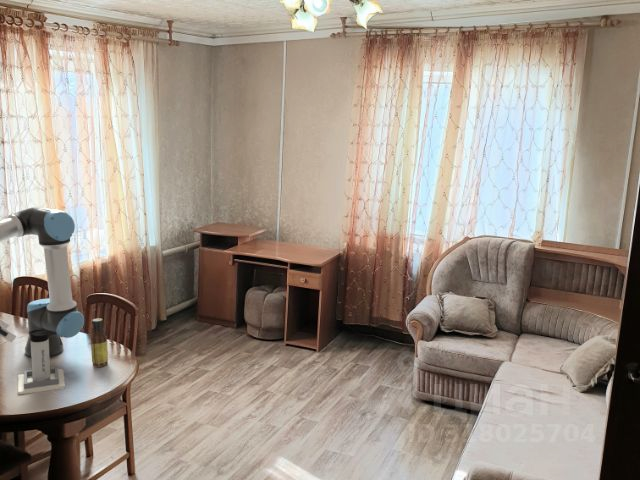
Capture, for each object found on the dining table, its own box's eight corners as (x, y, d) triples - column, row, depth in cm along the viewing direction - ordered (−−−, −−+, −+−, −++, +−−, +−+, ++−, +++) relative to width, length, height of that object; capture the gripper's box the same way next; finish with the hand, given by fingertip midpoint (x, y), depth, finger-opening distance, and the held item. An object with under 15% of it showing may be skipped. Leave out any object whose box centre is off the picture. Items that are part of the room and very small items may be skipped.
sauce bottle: (111, 363, 251) (110, 318, 247) (101, 369, 246) (99, 323, 241) (98, 360, 253) (97, 316, 249) (88, 366, 248) (86, 320, 244)
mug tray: (18, 376, 235) (18, 369, 234) (62, 371, 242) (62, 364, 241) (18, 394, 221) (17, 387, 220) (65, 387, 228) (64, 380, 227)
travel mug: (35, 376, 234) (32, 328, 230) (52, 376, 234) (50, 328, 230) (29, 383, 228) (26, 334, 224) (47, 383, 228) (44, 334, 224)
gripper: (-53, 299, 218) (-4, 330, 230) (-44, 319, 198) (9, 352, 210) (-37, 283, 220) (11, 315, 232) (-27, 301, 200) (24, 336, 212)
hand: (10, 333), depth 221 cm, fingers open, 13 cm apart
